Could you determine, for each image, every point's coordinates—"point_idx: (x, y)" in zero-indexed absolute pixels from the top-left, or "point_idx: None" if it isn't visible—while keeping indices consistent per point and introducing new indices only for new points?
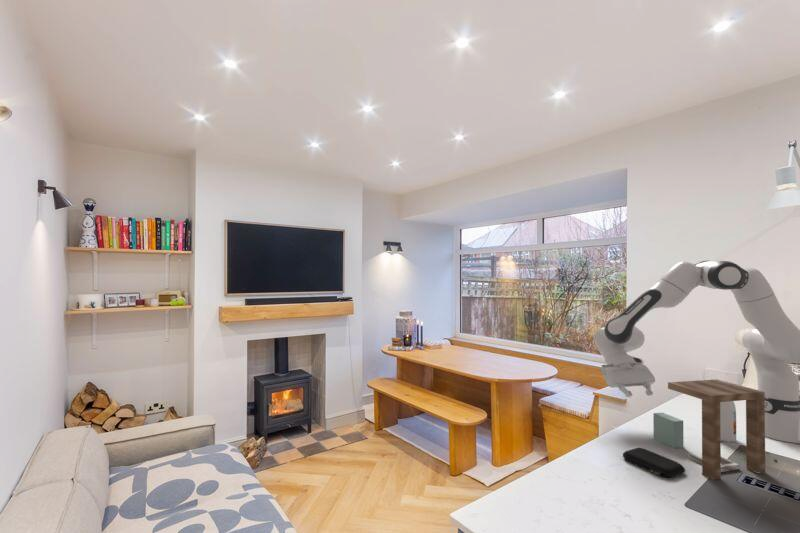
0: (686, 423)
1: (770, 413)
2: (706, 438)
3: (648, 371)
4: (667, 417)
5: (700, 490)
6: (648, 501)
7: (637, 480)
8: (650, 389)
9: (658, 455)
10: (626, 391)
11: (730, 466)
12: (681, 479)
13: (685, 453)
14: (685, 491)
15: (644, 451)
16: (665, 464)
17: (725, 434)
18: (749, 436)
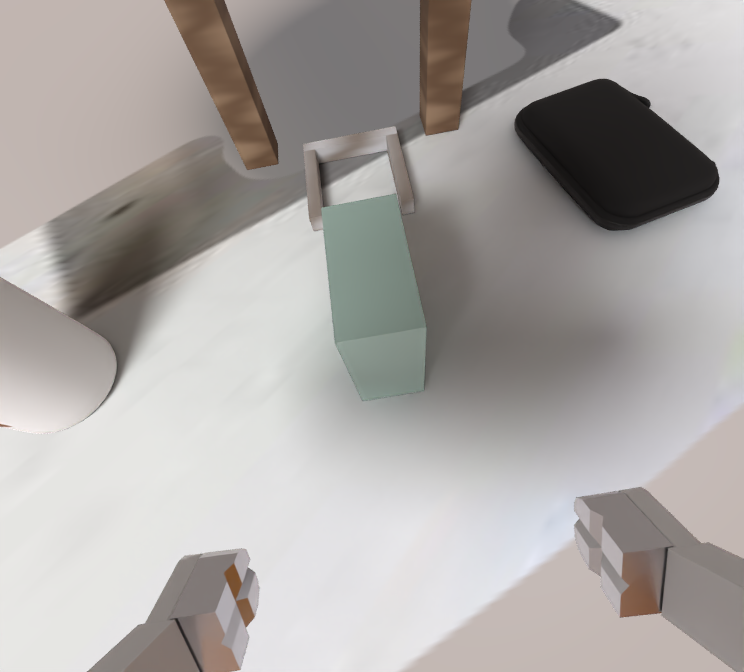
0: (5, 618)
1: None
2: None
3: None
4: (383, 249)
5: (531, 70)
6: (714, 25)
7: (705, 91)
8: (148, 622)
9: (582, 143)
10: (699, 555)
11: (340, 139)
12: None
13: None
14: (579, 63)
15: (627, 166)
16: (595, 95)
17: (80, 324)
18: (230, 34)
